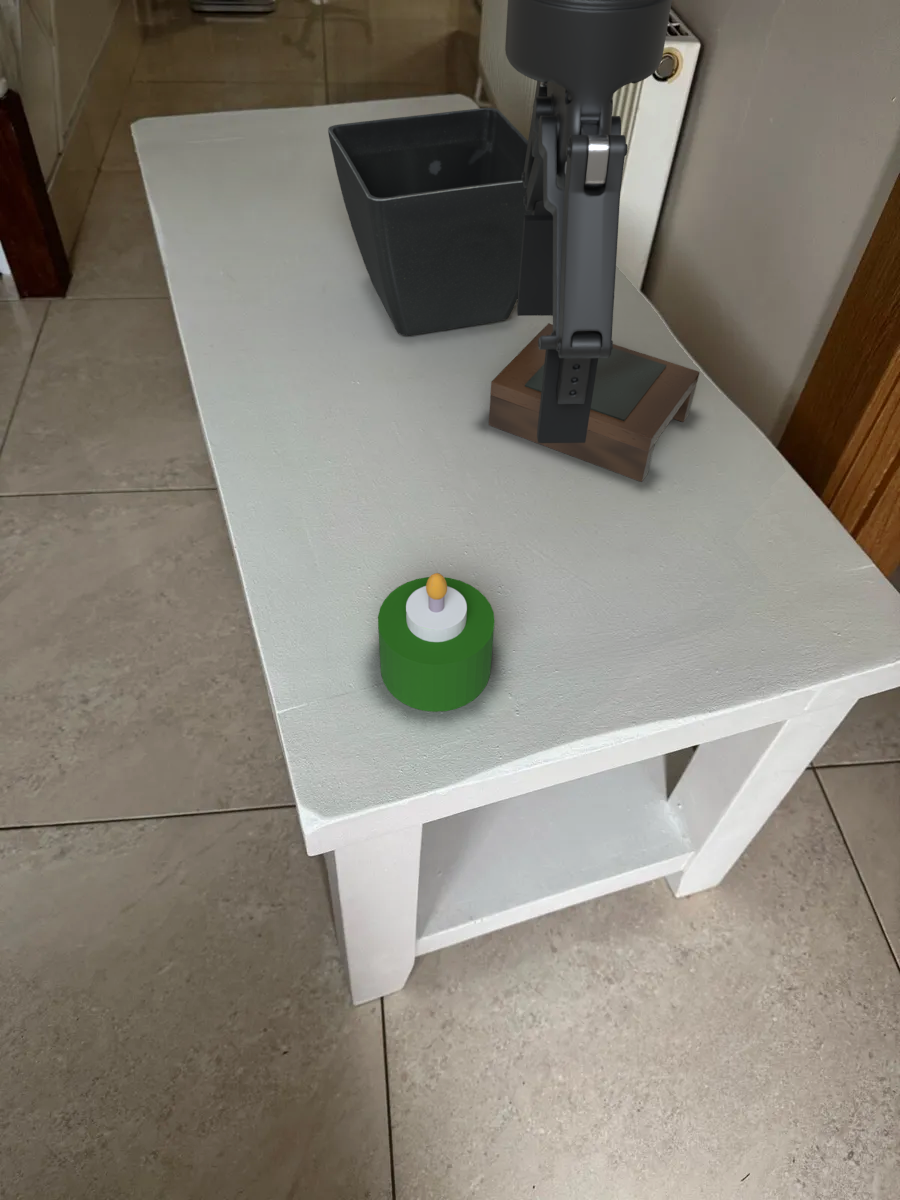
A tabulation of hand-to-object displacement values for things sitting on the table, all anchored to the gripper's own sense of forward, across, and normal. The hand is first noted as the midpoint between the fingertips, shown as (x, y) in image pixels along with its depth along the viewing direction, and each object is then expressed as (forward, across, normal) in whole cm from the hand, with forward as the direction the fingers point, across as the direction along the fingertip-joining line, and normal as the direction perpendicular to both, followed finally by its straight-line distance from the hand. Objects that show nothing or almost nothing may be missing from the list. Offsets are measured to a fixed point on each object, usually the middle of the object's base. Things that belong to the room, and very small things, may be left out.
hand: (548, 371), depth 58 cm
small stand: (+22, -24, +9) cm, 34 cm away
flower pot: (+22, -47, -6) cm, 52 cm away
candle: (+22, +6, -7) cm, 24 cm away
